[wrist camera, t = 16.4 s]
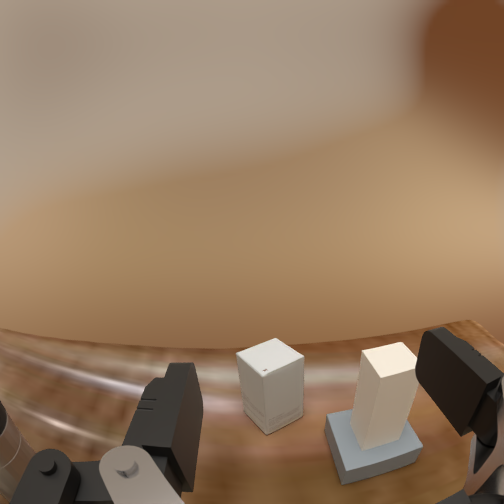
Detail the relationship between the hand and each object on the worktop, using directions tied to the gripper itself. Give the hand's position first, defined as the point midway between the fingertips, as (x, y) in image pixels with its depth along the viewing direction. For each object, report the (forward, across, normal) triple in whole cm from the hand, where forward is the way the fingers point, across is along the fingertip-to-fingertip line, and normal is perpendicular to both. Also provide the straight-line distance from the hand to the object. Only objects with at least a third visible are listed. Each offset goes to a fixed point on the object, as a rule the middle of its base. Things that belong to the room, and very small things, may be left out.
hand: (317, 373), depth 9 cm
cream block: (+16, -13, +26) cm, 33 cm away
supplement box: (+27, 0, +30) cm, 41 cm away
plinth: (+16, -13, +30) cm, 36 cm away
